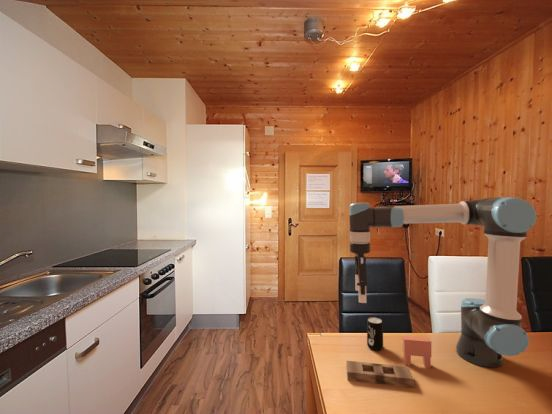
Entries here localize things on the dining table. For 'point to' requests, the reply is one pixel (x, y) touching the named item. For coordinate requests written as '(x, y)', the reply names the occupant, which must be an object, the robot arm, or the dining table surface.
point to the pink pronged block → (417, 349)
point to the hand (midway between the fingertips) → (360, 296)
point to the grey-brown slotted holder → (379, 374)
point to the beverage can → (375, 333)
